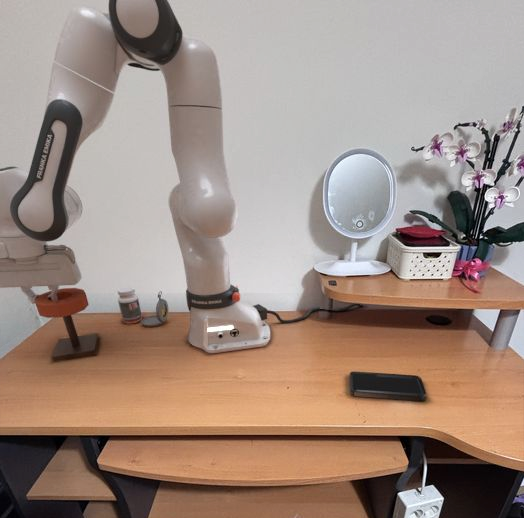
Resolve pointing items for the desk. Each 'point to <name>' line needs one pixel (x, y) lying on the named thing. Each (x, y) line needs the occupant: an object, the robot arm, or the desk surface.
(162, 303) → the pocket watch
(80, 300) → the ring
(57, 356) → the peg on square base
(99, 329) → the desk surface
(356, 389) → the phone
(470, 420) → the desk surface
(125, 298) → the pill bottle
